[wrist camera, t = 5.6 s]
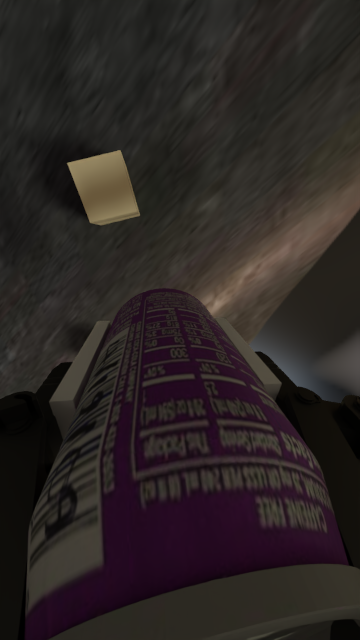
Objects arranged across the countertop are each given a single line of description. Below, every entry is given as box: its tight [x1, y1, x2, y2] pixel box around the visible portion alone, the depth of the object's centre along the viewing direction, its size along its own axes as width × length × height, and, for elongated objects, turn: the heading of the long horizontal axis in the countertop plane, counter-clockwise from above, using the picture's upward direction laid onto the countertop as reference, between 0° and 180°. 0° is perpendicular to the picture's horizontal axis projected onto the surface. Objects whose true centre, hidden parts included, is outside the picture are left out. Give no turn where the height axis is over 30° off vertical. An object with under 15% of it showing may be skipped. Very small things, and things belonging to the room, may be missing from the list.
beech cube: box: [67, 150, 140, 225], centre depth 21 cm, size 5×5×5 cm
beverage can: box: [23, 288, 360, 640], centre depth 9 cm, size 7×7×12 cm
